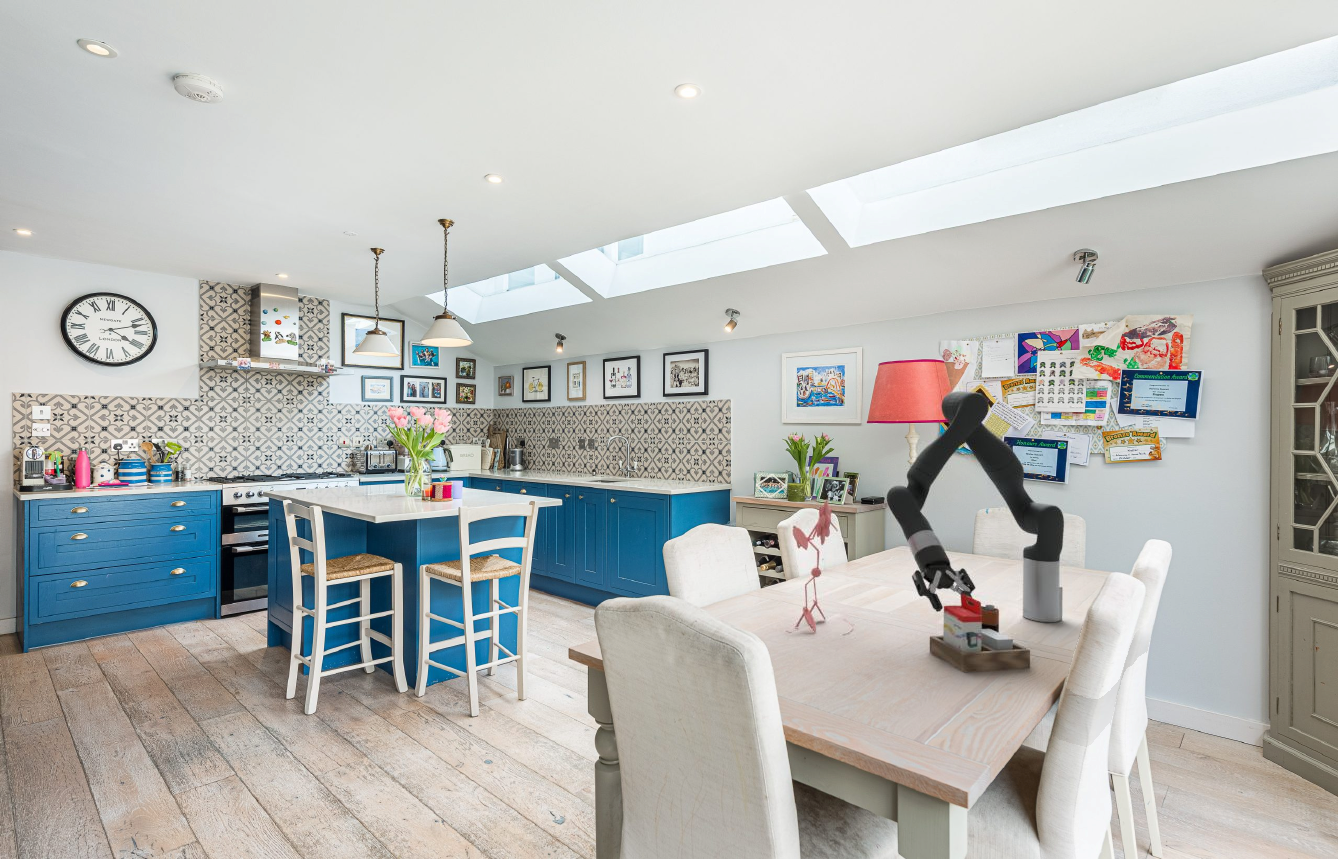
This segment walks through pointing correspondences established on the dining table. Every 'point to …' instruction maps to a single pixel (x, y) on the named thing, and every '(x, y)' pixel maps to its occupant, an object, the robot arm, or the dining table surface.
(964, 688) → the dining table surface
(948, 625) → the ink box
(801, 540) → the figurine
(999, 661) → the slot rack
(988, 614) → the battery
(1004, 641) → the grey block
